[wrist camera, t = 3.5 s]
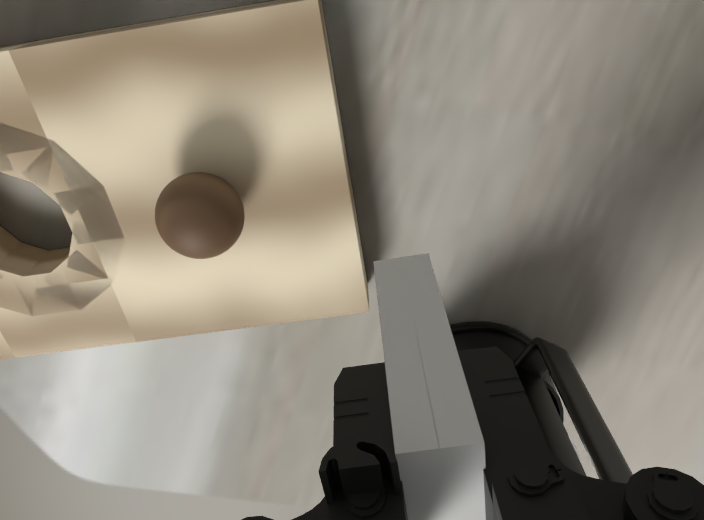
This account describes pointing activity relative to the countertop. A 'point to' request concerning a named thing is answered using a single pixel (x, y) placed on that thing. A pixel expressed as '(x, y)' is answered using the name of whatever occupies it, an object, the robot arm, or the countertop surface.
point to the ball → (199, 215)
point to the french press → (552, 396)
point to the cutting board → (171, 162)
